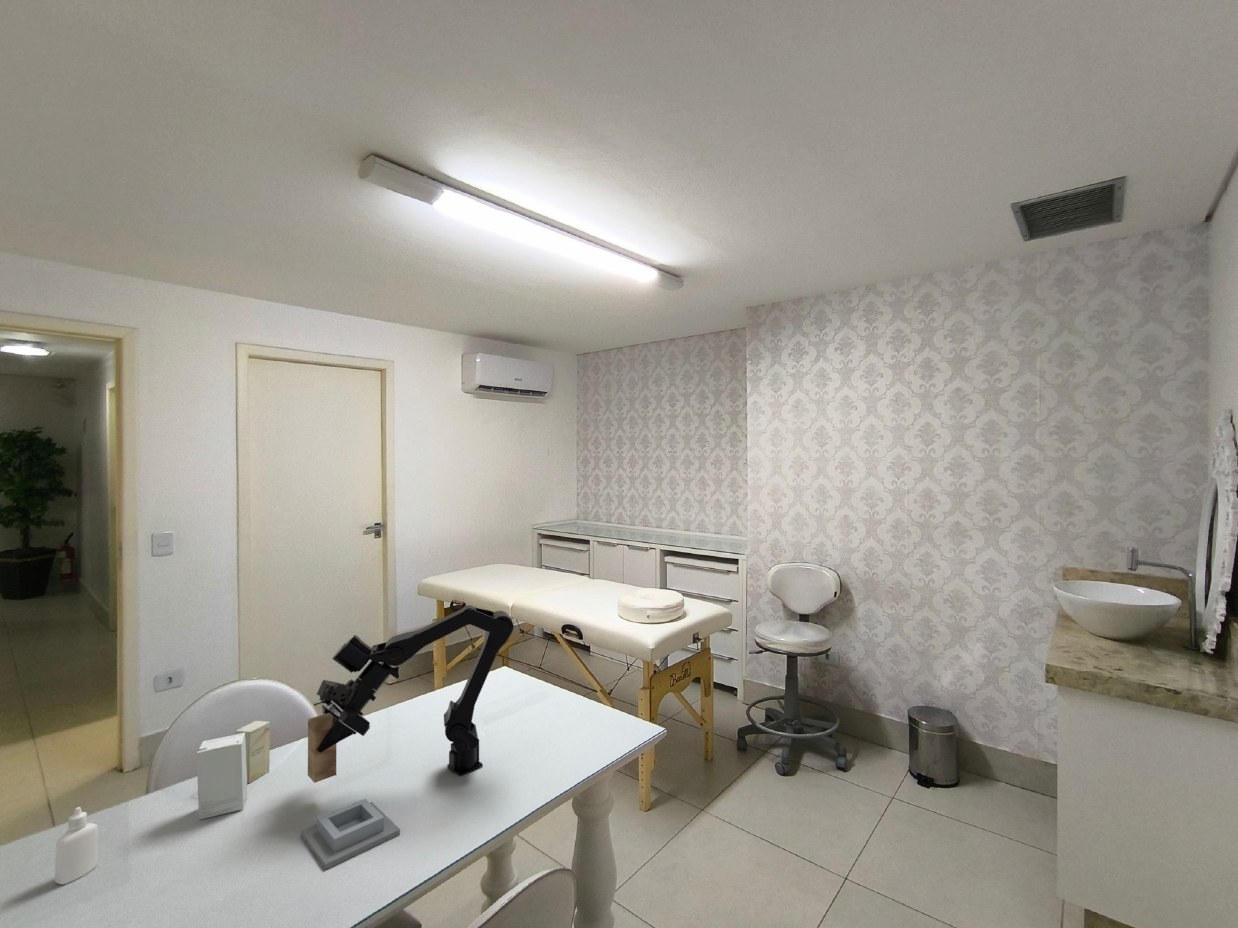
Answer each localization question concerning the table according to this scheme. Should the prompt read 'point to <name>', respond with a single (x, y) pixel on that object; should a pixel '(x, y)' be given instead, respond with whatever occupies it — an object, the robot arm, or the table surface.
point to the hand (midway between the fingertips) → (315, 747)
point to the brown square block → (320, 762)
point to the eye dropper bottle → (76, 849)
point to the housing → (348, 832)
